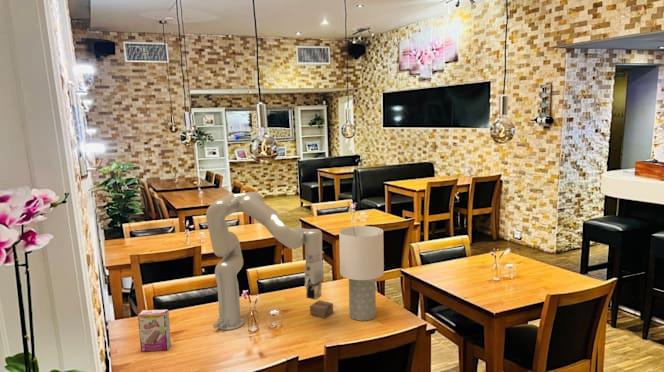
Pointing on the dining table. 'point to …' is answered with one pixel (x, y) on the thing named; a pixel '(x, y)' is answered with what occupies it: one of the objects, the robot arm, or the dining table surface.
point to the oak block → (315, 291)
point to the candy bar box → (154, 330)
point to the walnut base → (321, 309)
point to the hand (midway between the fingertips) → (313, 295)
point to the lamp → (361, 267)
